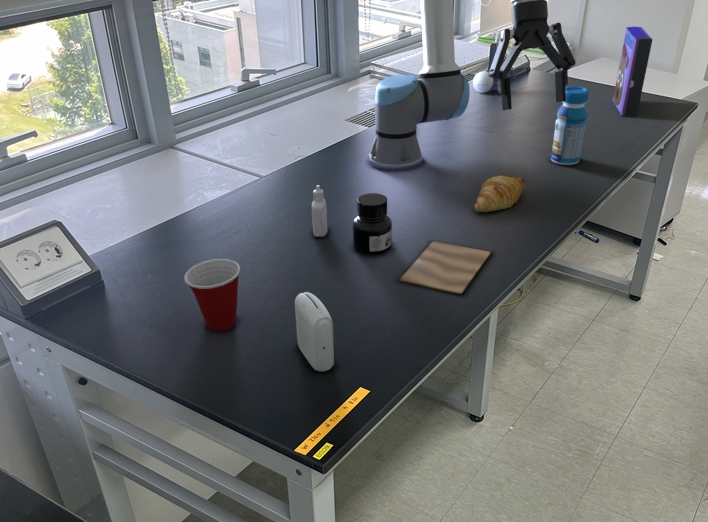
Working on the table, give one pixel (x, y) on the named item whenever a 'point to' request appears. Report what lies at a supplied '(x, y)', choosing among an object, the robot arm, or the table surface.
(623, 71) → the cereal box
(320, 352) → the photo printer
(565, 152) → the beverage bottle
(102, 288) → the table surface
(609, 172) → the table surface
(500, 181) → the croissant
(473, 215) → the table surface
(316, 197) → the eye dropper bottle
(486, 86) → the white ovoid
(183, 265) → the table surface
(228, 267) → the plastic cup
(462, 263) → the wooden board
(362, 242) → the ink bottle
